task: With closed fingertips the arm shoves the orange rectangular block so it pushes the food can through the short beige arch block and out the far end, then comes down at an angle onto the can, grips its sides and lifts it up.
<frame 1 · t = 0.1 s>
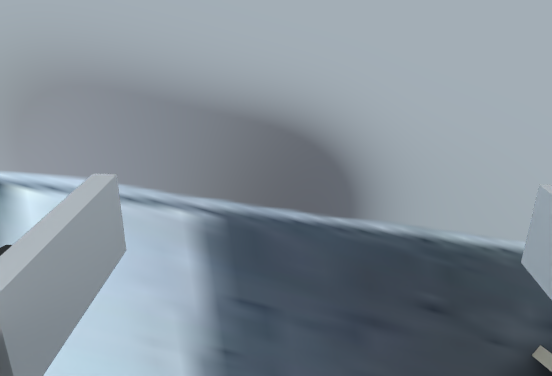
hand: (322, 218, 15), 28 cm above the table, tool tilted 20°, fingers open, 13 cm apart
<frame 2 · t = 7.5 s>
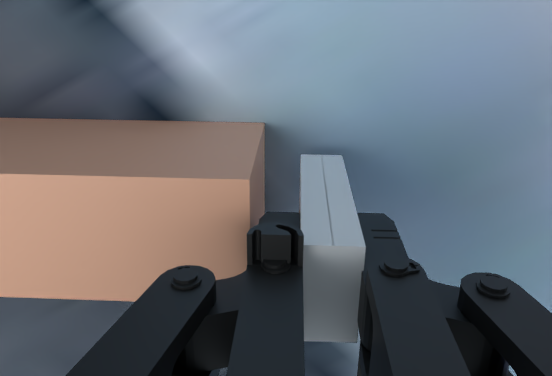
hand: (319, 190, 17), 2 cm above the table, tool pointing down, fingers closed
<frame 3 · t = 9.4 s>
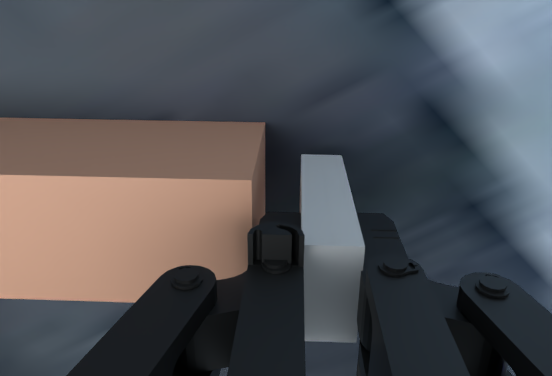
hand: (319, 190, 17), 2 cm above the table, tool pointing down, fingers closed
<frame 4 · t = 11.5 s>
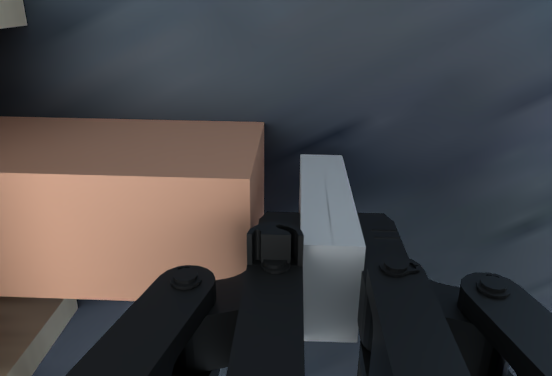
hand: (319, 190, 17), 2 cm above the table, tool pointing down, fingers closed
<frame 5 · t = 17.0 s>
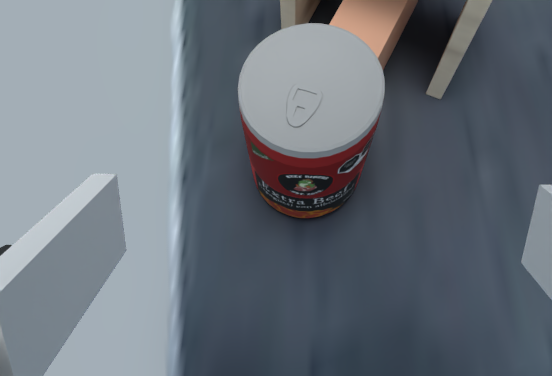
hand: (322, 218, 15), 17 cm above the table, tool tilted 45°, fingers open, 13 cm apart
beige arch block: (377, 31, 39), on the table
canned food: (306, 171, 35), on the table
orange rectangular block: (381, 20, 40), on the table
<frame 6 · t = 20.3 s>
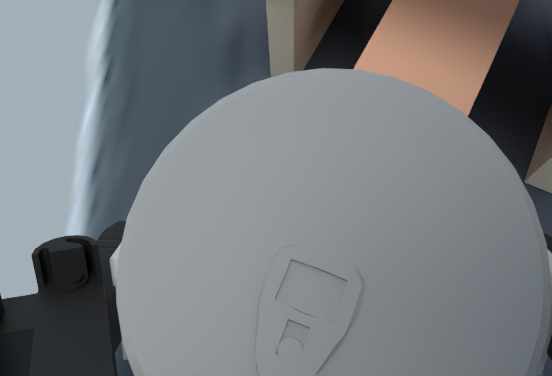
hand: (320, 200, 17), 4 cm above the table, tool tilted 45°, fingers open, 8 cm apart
beige arch block: (433, 66, 23), on the table
canned food: (308, 326, 19), on the table, touching gripper
orange rectangular block: (440, 46, 24), on the table, touching gripper
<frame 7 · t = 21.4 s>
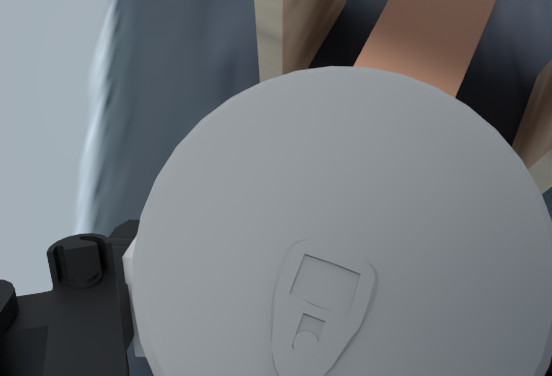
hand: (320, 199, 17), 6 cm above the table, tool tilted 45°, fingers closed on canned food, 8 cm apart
beige arch block: (411, 93, 25), on the table
canned food: (314, 326, 19), point 2 cm above the table, touching gripper
orange rectangular block: (415, 67, 26), on the table
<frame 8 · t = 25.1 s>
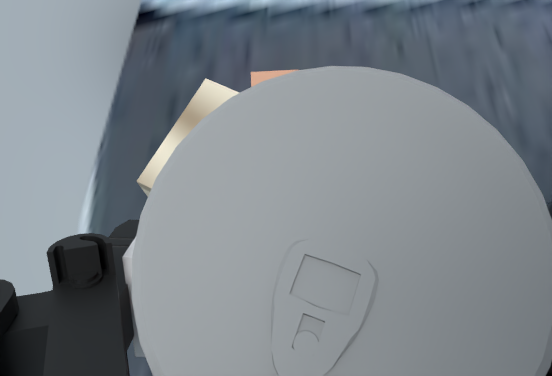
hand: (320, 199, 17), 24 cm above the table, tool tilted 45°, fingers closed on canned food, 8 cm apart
beige arch block: (275, 238, 41), on the table
canned food: (314, 327, 19), point 20 cm above the table, touching gripper
orange rectangular block: (282, 218, 42), on the table
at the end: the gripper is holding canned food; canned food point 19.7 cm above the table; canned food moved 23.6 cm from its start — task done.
